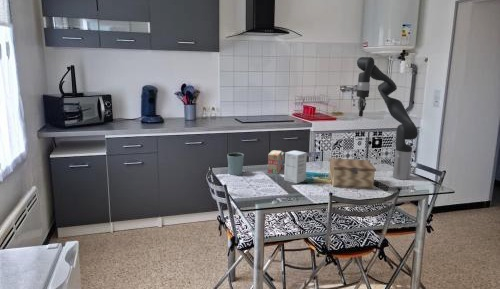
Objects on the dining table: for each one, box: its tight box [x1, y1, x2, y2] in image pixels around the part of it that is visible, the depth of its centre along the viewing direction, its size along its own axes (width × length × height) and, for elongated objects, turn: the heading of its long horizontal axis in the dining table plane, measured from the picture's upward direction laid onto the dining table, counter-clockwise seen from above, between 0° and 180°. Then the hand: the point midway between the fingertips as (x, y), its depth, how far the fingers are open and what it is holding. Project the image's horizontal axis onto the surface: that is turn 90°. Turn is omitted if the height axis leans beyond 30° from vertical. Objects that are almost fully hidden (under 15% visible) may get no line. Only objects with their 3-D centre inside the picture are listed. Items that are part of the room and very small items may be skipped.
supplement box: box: [283, 150, 308, 184], centre depth 221 cm, size 10×9×17 cm
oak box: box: [328, 163, 376, 190], centre depth 220 cm, size 22×18×10 cm
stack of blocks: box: [267, 149, 285, 175], centre depth 244 cm, size 21×6×12 cm, turn 164°
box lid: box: [328, 158, 377, 174], centre depth 218 cm, size 23×20×3 cm
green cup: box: [227, 152, 245, 176], centre depth 231 cm, size 10×10×12 cm
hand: (360, 116), depth 244 cm, fingers closed
